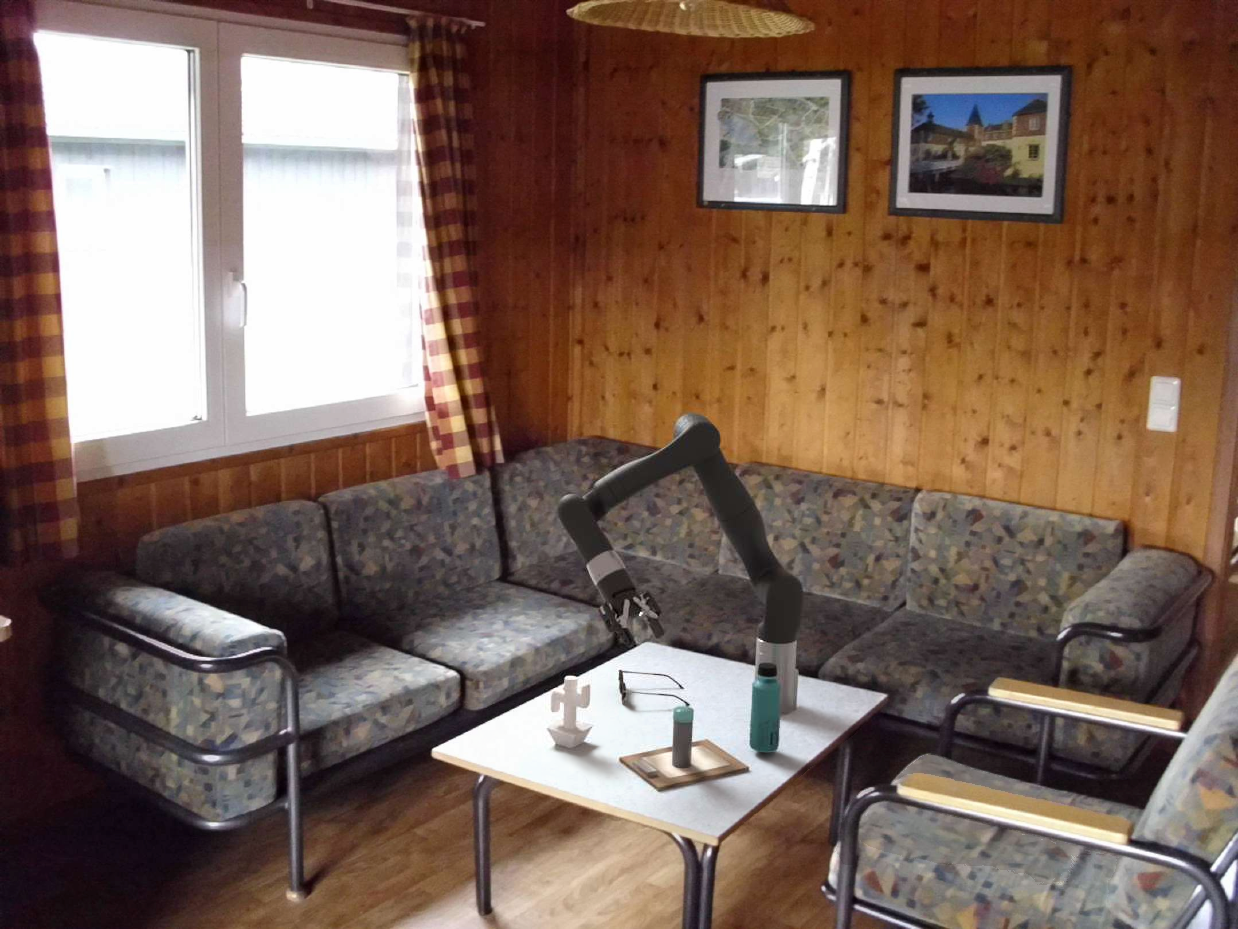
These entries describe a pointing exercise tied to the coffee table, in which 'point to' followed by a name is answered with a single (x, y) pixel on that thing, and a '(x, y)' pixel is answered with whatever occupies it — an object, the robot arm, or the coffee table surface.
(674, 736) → the grey capped container
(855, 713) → the coffee table surface
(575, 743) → the figurine
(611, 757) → the coffee table surface
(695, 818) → the coffee table surface
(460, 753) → the coffee table surface
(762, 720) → the beverage bottle
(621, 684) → the sunglasses
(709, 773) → the clipboard
